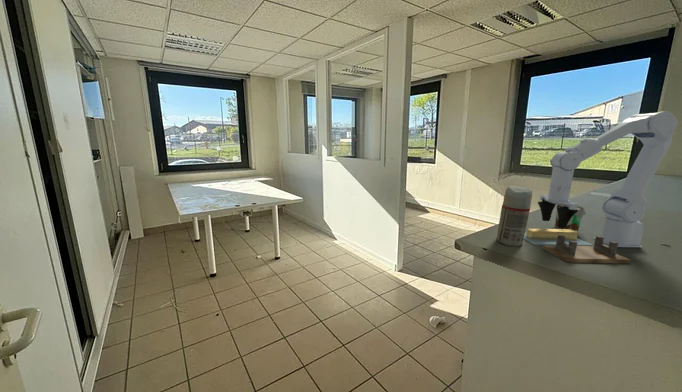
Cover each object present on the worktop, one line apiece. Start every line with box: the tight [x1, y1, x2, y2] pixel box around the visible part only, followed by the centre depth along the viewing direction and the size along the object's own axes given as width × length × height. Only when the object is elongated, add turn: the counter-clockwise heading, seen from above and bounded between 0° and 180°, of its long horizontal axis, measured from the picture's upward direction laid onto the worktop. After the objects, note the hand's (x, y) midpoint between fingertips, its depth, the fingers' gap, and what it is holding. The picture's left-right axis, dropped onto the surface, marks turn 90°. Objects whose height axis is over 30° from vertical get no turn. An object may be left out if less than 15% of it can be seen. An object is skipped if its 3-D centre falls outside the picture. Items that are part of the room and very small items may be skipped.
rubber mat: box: [523, 231, 594, 246], centre depth 98 cm, size 20×12×1 cm, turn 89°
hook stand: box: [542, 235, 631, 264], centre depth 83 cm, size 18×10×6 cm, turn 89°
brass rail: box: [526, 228, 579, 240], centre depth 97 cm, size 16×3×3 cm, turn 89°
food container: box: [554, 204, 587, 233], centre depth 106 cm, size 12×6×10 cm, turn 168°
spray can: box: [495, 185, 533, 247], centre depth 92 cm, size 8×8×20 cm
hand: (553, 224), depth 96 cm, fingers open, 7 cm apart
